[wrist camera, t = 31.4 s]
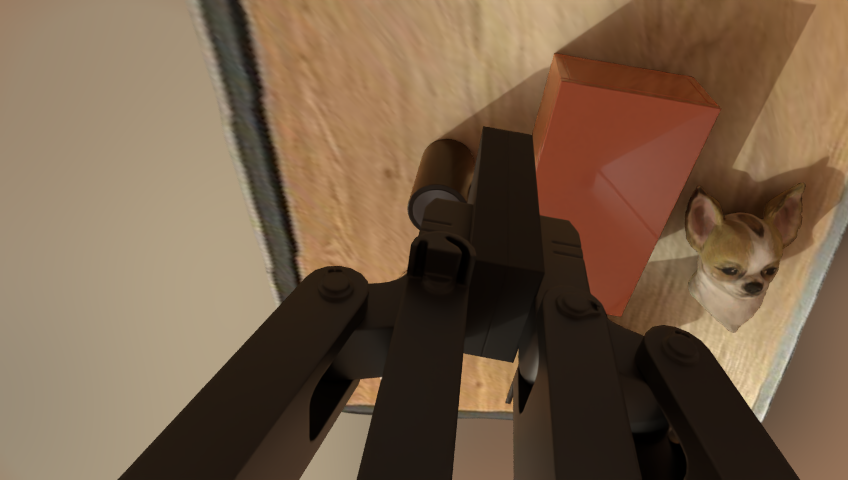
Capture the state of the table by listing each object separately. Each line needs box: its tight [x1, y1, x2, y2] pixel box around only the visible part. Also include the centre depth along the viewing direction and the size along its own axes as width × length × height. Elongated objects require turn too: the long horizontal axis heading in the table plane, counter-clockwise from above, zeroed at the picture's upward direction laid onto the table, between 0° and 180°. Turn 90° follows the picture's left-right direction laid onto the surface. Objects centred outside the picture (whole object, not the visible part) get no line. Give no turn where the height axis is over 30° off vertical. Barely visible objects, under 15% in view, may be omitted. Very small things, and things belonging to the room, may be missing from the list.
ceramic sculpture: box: [685, 183, 805, 333], centre depth 52 cm, size 11×9×15 cm
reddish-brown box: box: [532, 53, 717, 165], centre depth 50 cm, size 22×13×7 cm, turn 173°
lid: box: [535, 78, 721, 317], centre depth 47 cm, size 22×13×1 cm, turn 173°
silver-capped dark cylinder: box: [408, 139, 474, 230], centre depth 51 cm, size 8×6×10 cm
